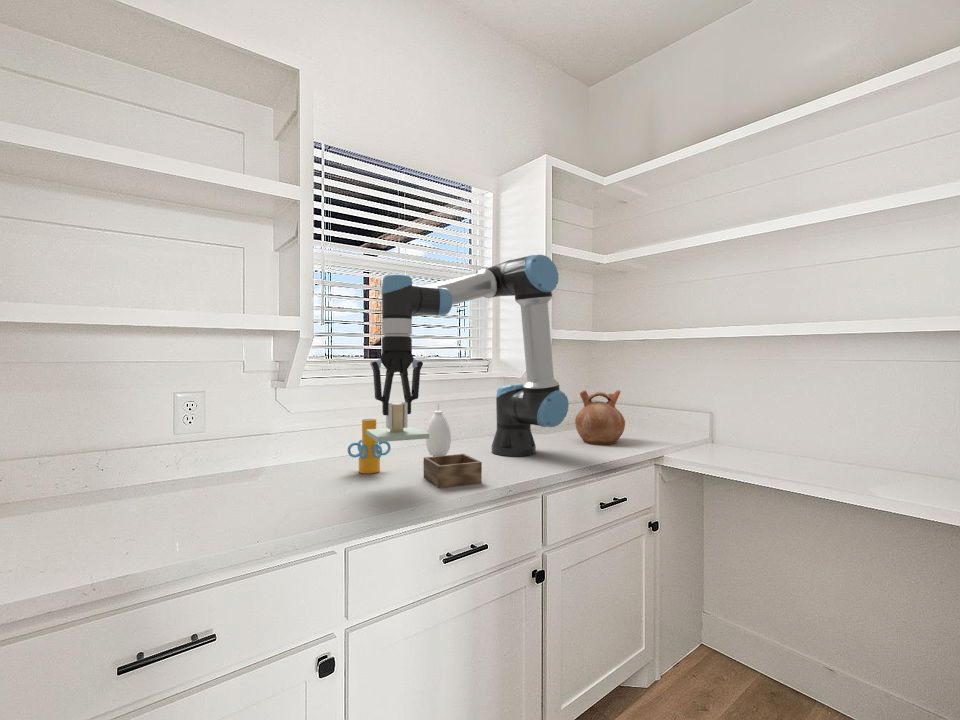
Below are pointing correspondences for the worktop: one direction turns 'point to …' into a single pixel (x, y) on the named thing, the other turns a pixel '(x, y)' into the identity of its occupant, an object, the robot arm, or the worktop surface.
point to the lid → (397, 429)
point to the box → (452, 470)
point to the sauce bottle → (438, 435)
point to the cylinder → (369, 449)
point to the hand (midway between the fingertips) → (396, 427)
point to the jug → (600, 419)
